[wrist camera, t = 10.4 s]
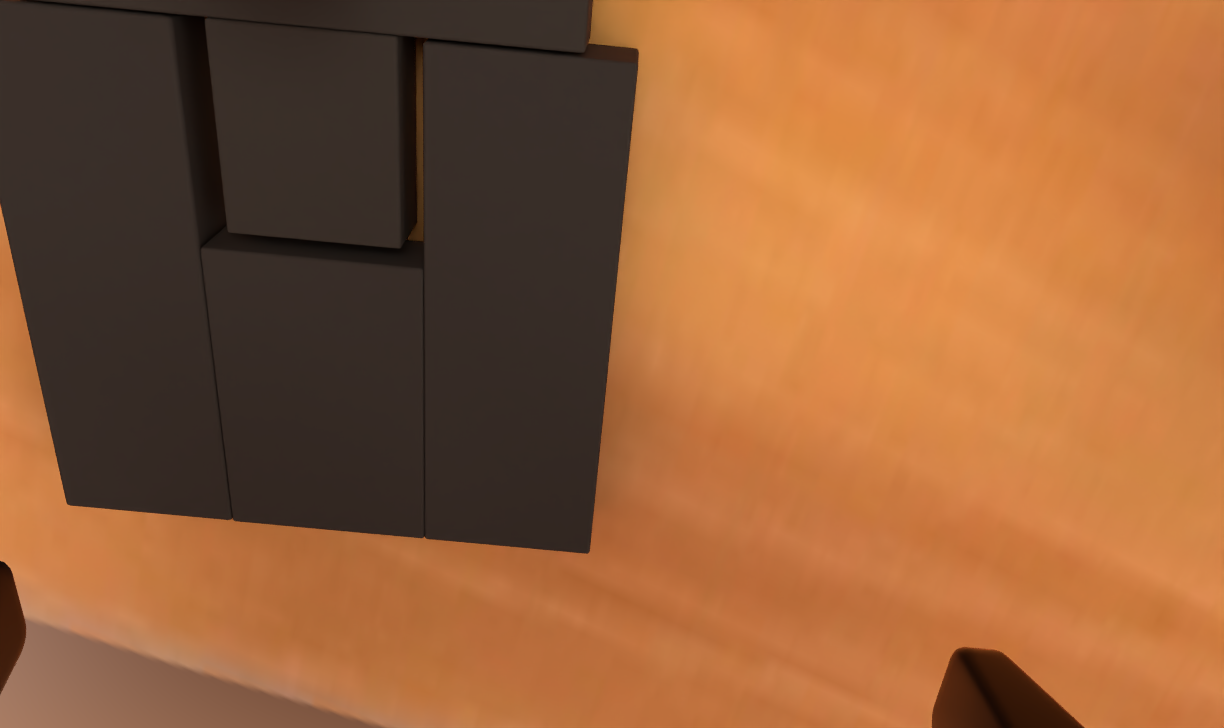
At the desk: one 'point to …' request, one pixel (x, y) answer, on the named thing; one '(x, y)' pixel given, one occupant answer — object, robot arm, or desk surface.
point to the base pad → (316, 292)
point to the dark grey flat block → (338, 101)
